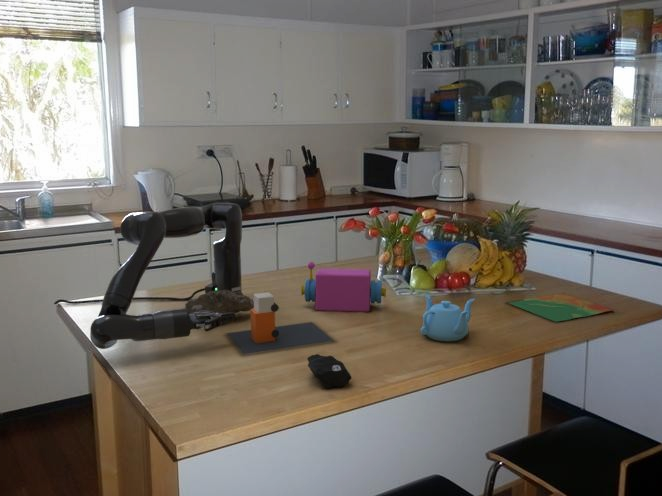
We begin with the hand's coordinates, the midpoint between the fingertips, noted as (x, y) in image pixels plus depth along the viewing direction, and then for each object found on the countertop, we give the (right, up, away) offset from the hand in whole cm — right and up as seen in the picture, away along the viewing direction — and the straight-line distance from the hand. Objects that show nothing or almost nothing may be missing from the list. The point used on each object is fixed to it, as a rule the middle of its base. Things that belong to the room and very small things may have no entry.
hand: (234, 316), depth 182 cm
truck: (+7, -7, +5) cm, 11 cm away
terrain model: (+102, -2, +36) cm, 108 cm away
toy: (+30, -2, +36) cm, 47 cm away
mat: (+12, -7, +7) cm, 15 cm away
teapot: (+60, -7, +9) cm, 61 cm away
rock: (+26, -13, -23) cm, 37 cm away
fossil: (-7, -4, +23) cm, 24 cm away
